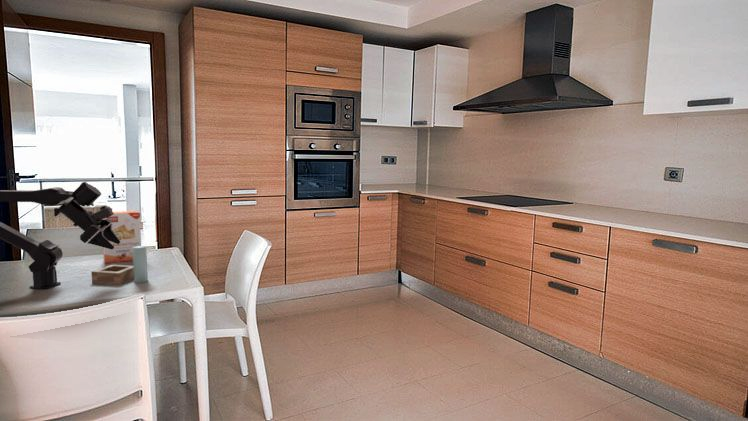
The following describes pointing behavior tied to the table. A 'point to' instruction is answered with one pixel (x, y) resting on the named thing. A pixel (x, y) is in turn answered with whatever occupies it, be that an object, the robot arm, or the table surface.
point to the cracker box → (124, 236)
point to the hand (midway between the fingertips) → (116, 245)
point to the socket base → (113, 274)
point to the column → (140, 264)
